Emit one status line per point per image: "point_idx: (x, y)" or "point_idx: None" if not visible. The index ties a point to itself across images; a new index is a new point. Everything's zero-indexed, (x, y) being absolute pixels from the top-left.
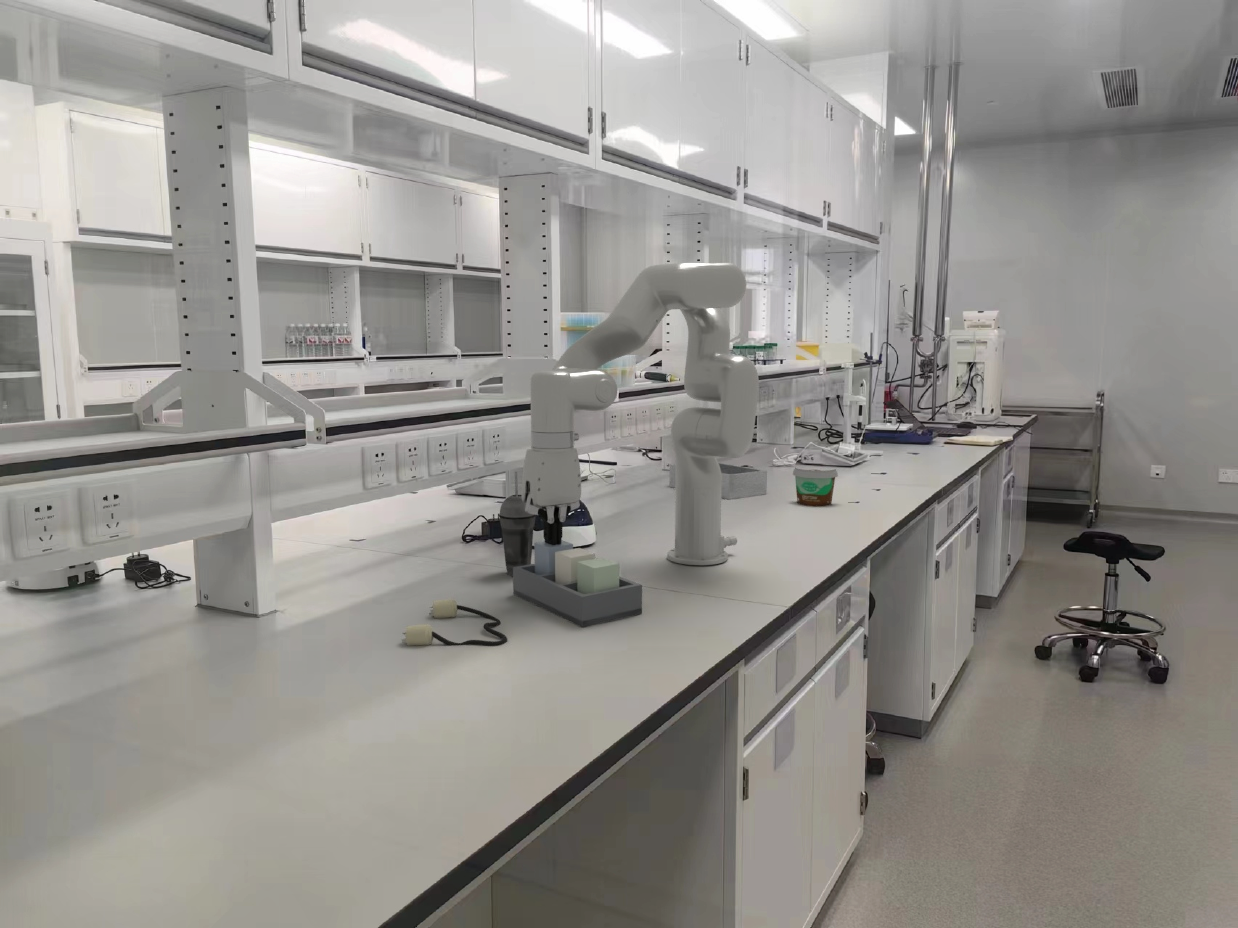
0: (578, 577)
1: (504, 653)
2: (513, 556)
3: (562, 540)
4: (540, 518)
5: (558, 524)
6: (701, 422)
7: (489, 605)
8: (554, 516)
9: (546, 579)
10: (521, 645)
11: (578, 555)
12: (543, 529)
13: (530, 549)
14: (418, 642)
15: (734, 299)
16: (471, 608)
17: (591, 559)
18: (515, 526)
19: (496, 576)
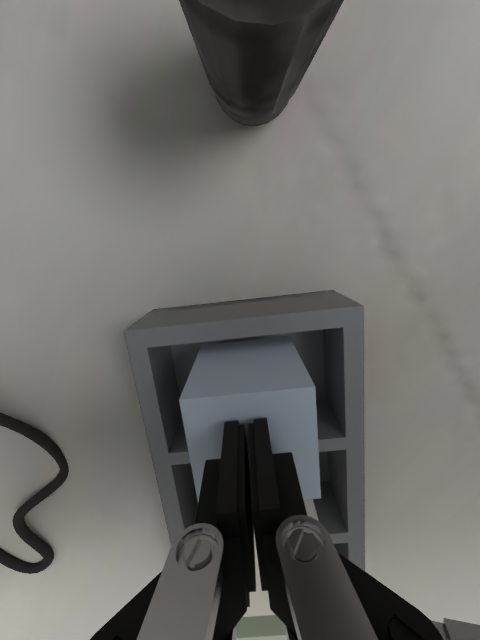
0: None
1: (36, 598)
2: (215, 81)
3: (315, 425)
4: (160, 574)
5: (267, 589)
6: None
7: (71, 364)
8: (279, 584)
9: (172, 495)
10: (71, 583)
11: (259, 607)
12: (200, 493)
13: (299, 72)
14: None
15: None
16: (3, 424)
17: (282, 635)
18: None
19: (169, 85)
